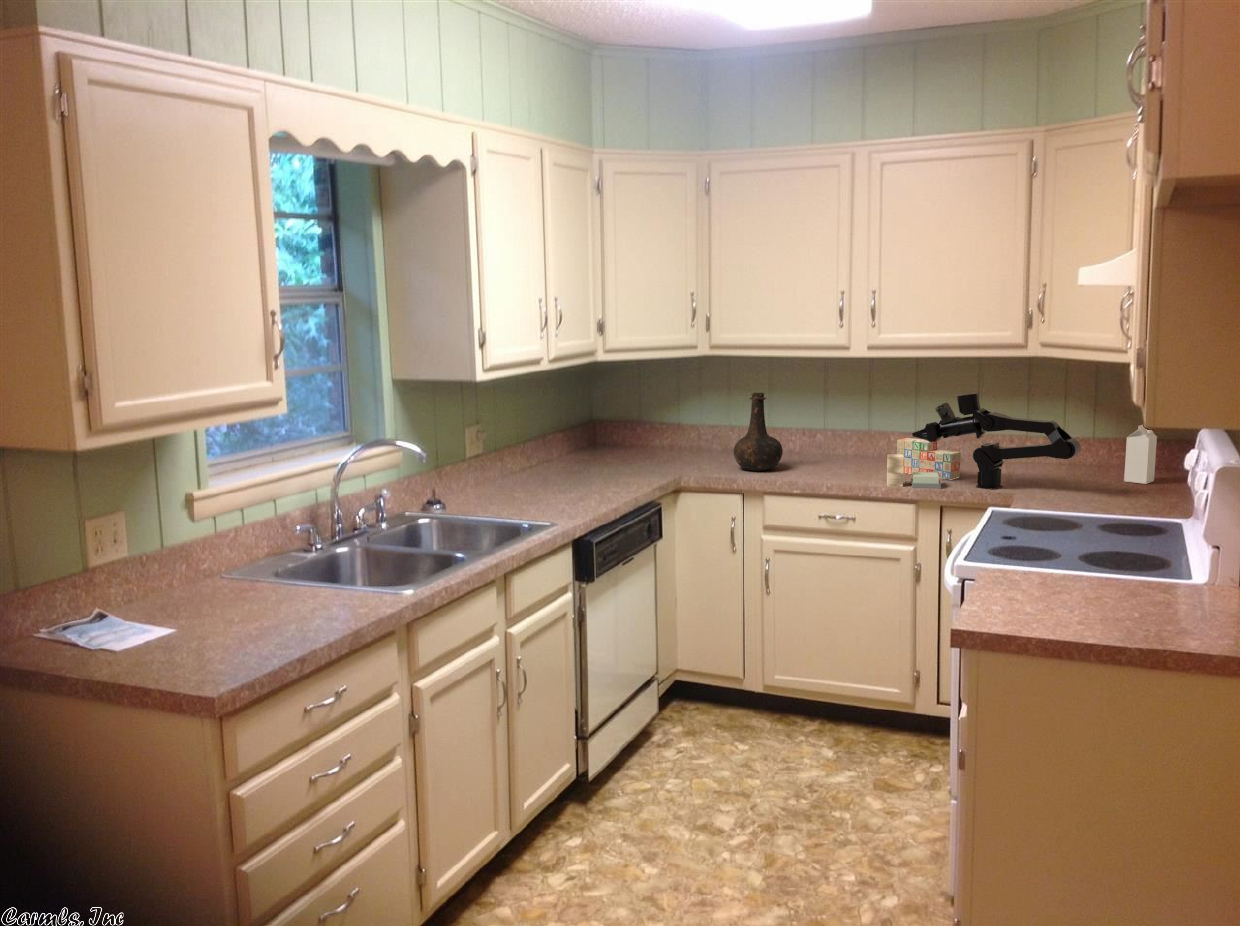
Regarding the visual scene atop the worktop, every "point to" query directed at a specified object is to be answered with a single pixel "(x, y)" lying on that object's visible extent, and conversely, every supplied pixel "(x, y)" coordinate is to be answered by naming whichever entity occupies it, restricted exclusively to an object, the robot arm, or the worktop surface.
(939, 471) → the stack of blocks
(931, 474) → the tower top
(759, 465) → the glass bottle
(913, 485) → the tower base
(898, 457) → the tall block
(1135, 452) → the milk carton
